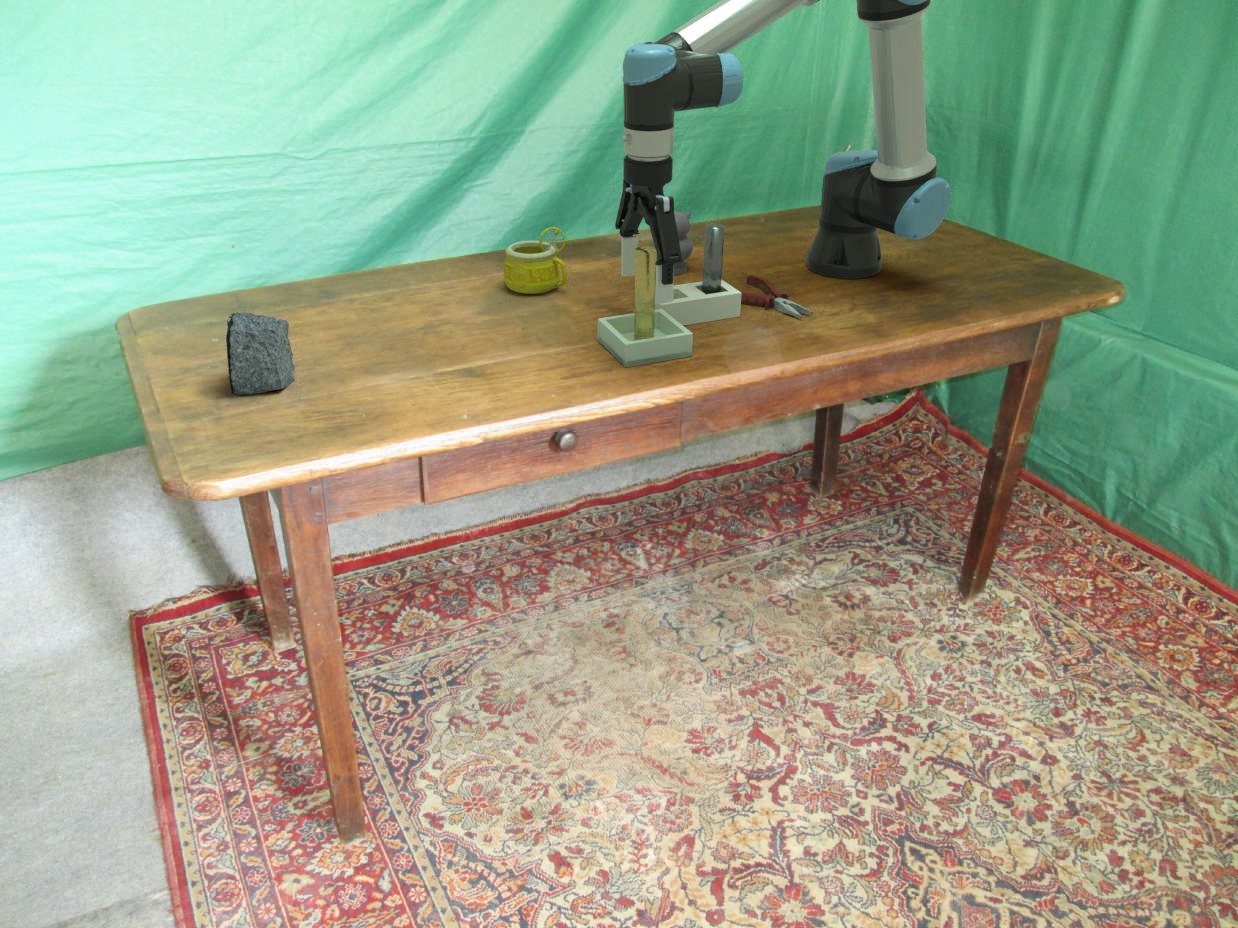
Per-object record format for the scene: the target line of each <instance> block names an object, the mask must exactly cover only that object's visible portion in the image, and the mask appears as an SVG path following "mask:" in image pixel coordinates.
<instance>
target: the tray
mask: <svg viewBox="0 0 1238 928" xmlns="http://www.w3.org/2000/svg"><path fill="white" fill-rule="evenodd" d="M693 335H694V333H693V332H692V331H690V330H689V329H688V328H687V327H686V326H685V325H684V326H683V325H681V324H680V323H679V322H678V321H676V320H675V319H674V318H673V317H671V316H670V315H669V314H668V313H666V312H665V311H664V310H663V309H657V310H655V329H654V338H648V339H642V340H635V341H634V312H632V313H626V314H618V315H614V316H607V317H600V318H597V341H598V343H600V344H601V346H603V348H605V350H607V351H608V352H609V353H610V354H611V356H613V357H614V358H615V359H616V360H617V361H618V362H619V363H620V364H621V365H622V366H623V367H624V368H625V369H626V368H633V367H638V366H643V365H649V364H654V363H655V364H656V363H661V362H666V361H672V360H673V361H674V360H677V359H683V358H684V359H685V358H690V357H692V356H693V346H694V345H693V342H694V341H693V339H694V336H693Z"/></svg>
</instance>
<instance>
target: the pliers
mask: <svg viewBox="0 0 1238 928" xmlns="http://www.w3.org/2000/svg"><path fill="white" fill-rule="evenodd" d="M746 284H747V285H749V286H752V287H754V288H757V289H759V290H762V292H764V293H765V294H760V293H754V292H746V291H740V290H739V291H740V292H741V293H742V296H741V305H747V306H752V307H753V306H755V307H761V308H764V311H769V310H770V309H772V310H773V309H774V310H776V311H779V312H780V313H783V314H786V315H790V316H793V317H796V318H800V319H803V317H804V316H803V315H802V314H807V315H814V312H813V311H811V310H810V309H808V308H806V307H804V306H802V305H800V304H798V303H796V302H794V301H792V300H789V295H788V294H787V292H779V291H778V290H777V289H776V288H775V287H774V286H773V285H772V283H770V281H768V280H767V279H764V278H762V277H759V276H757V275H756V276H755V275H752V274H751V275H750V274H749V275H748V276H746Z"/></svg>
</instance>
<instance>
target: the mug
mask: <svg viewBox="0 0 1238 928" xmlns="http://www.w3.org/2000/svg"><path fill="white" fill-rule="evenodd" d="M552 230H555V231H554V235H553V237H552V236H551V233H550V231H552ZM545 233H546V234H547V235H548V237H549V238H550V239H542V238H543V236H544V234H545ZM560 233H561V235H562V236H563V238H562V239H560V238H559V239H556V237H557V236H558V235H559V234H560ZM555 242H559V243H561V242H562V245H561V246H560V248H558V246H557V245H556V243H555ZM565 246H566V236H565V234H564V231H562V230H561V229H560V228H558V227H555V226H554V227H553V226H552V227H551V226H550V227H548V228H545V229H544V230H543V231H542V232H541V234H540V235H539V238H538V240H522V241H517V242H514V243H511V244H510V245H509V246H508V247H506V248H505V250H504V251H505V252H504V253H505V259H504V270H503V280H504V284H505V285H506V287H507V288H508V289H509V290H511V291H513V292H515V293H520V294H523V295H538V294H545V293H547V292H550V291H552V290H554V289H556V288H559V287H561V286H564V285H566V282H567V279H568V277H567V276H568V273H567V268H566V265H565V264H566V263H564V261H563V260H561V259H560V258H558V256H557V254H558V253H560V252H561V251H562V250H563V249H564V247H565ZM560 267H561V270H562V280H560V279H561V273H560V272H561V271H560Z"/></svg>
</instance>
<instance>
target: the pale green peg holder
mask: <svg viewBox="0 0 1238 928" xmlns="http://www.w3.org/2000/svg"><path fill="white" fill-rule="evenodd" d="M741 292H742V291H741ZM741 292H740V290H738V289H737V288H735V287H734V286H732V285H731V284H729V283H728V282H726V281H725V280H723V278H722V279H721V292H719V293H712V294H705V293H703V292H702V281H698V282H697V281H696V282H688V283H682V284H676V285H674V284H673V302H668V303H662V304H656V303H655V310H657V309H663V310H664V311H665V312H666V313H668V314H669V315H670V316H671V317H673V318H674V319H675V320H676V321H678V322H679V323H680V324H681V325H683V326H684V327H685V326H688V325H695V324H696V325H697V324H703V323H708V322H714V321H720V320H726V319H733V318H738V317H741V308H742V307H741V306H742V304H741V296H742V293H741ZM655 295H656V292H655Z"/></svg>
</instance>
